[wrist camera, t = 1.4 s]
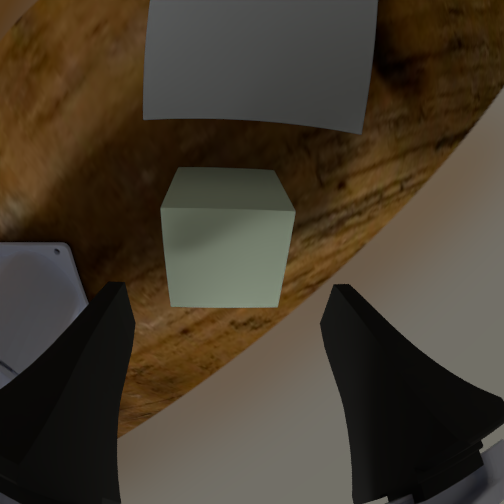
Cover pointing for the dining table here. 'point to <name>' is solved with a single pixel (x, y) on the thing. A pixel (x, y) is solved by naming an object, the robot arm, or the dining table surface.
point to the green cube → (226, 237)
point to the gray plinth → (260, 61)
